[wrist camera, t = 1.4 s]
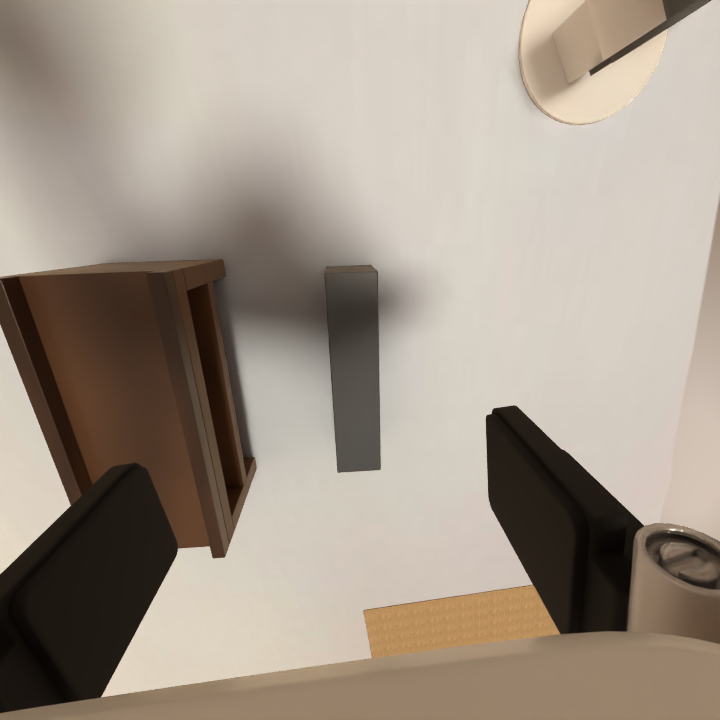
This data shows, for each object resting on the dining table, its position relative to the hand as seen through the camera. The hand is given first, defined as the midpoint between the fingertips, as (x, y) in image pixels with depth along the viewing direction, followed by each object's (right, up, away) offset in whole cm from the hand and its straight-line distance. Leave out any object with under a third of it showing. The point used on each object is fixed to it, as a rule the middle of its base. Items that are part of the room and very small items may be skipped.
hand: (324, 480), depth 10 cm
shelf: (-16, +2, +25) cm, 29 cm away
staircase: (+21, -43, +43) cm, 64 cm away
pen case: (0, +3, +25) cm, 25 cm away
